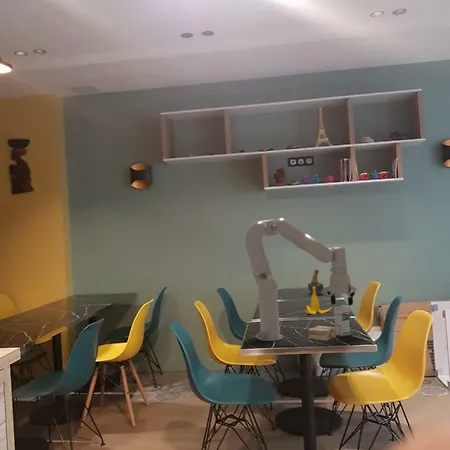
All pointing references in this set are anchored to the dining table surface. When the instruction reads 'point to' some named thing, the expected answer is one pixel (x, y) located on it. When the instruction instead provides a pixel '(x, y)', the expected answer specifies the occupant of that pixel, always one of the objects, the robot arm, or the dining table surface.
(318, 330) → the beech block
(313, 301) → the banana peel
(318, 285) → the mortar and pestle
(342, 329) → the syrup box
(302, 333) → the dining table surface
